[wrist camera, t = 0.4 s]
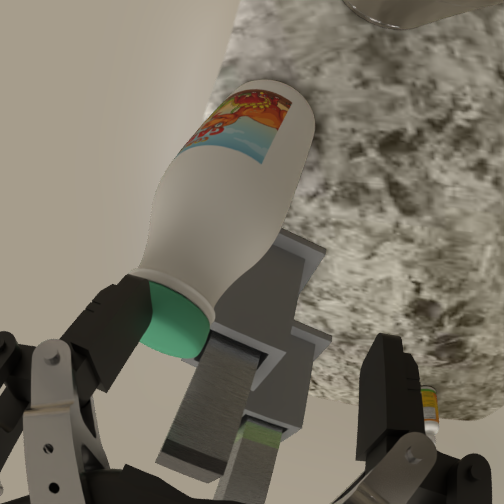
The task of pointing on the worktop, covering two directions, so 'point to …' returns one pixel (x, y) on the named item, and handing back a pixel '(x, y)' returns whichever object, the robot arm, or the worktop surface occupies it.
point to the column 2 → (250, 462)
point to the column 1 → (211, 410)
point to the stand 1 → (266, 301)
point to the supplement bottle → (430, 411)
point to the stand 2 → (288, 381)
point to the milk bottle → (221, 208)
